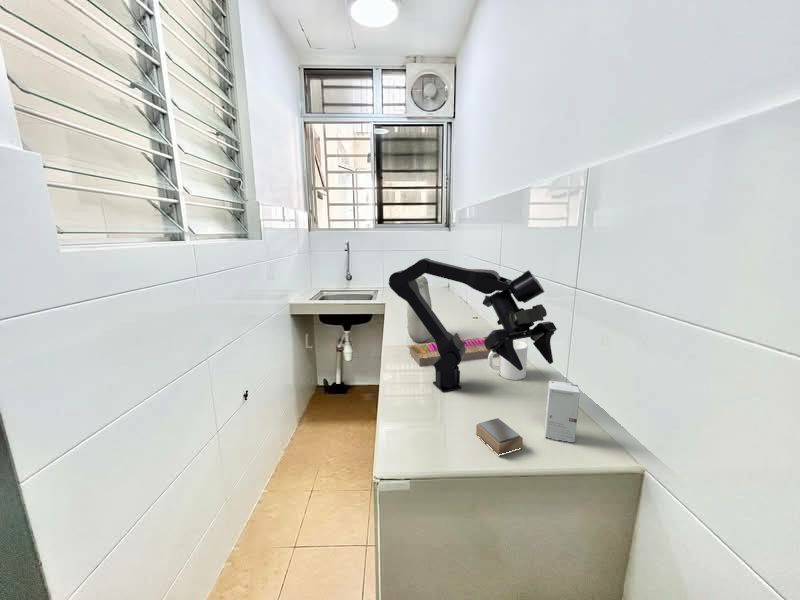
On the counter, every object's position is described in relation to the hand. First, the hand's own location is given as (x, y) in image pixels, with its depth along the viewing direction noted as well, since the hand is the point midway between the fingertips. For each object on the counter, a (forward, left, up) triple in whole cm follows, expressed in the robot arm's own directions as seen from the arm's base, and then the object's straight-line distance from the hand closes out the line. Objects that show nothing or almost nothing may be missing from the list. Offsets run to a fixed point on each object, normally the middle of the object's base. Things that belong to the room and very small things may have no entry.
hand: (536, 366), depth 79 cm
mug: (+10, +23, -14) cm, 28 cm away
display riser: (-14, -4, -13) cm, 20 cm away
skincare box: (0, -8, -14) cm, 16 cm away
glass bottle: (-1, +65, -14) cm, 66 cm away
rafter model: (+5, +45, -14) cm, 47 cm away
